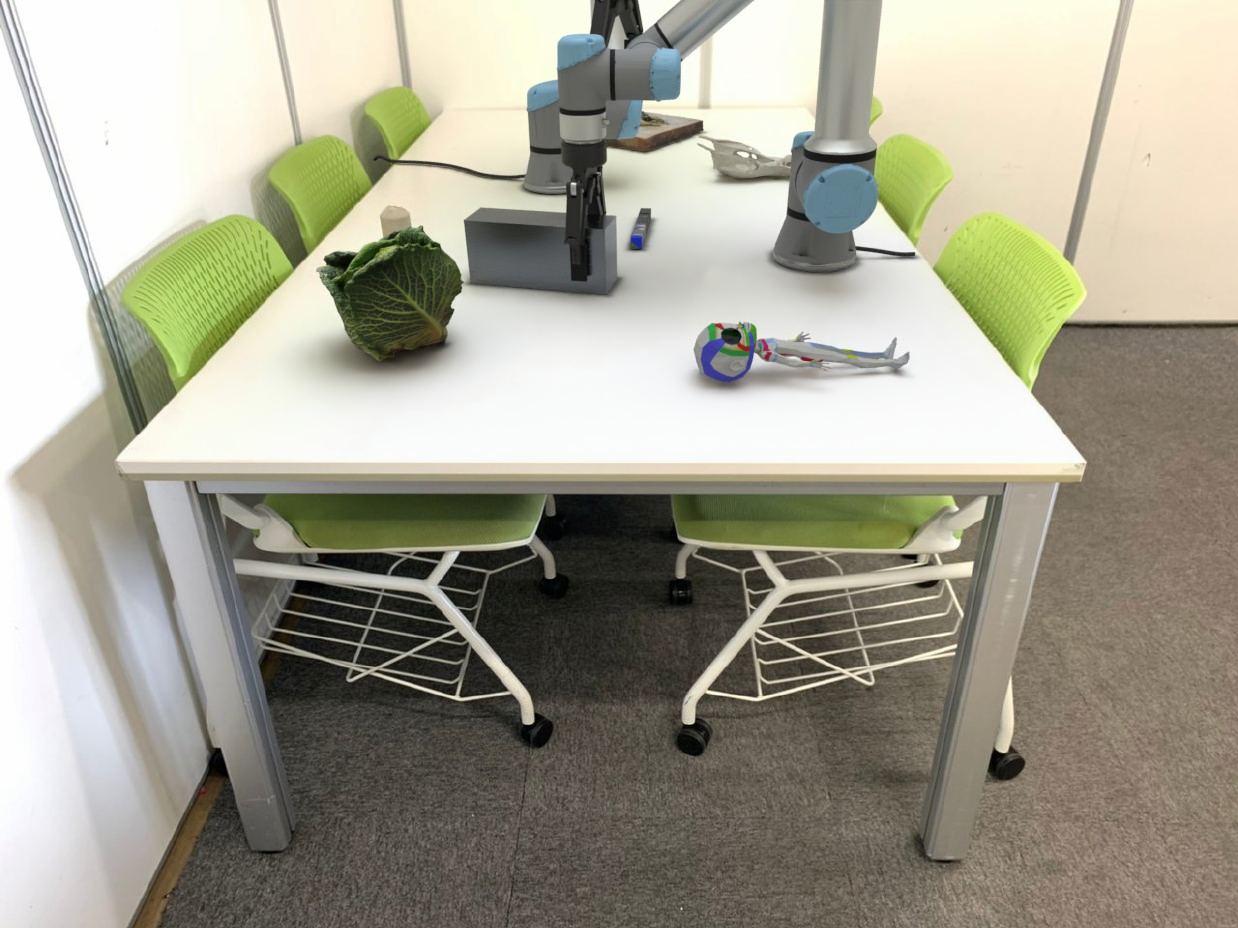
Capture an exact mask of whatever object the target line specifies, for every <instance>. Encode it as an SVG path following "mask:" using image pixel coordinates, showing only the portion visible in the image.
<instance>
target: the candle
mask: <svg viewBox="0 0 1238 928" xmlns="http://www.w3.org/2000/svg"><path fill="white" fill-rule="evenodd" d="M379 220H380V225H381V231H382V238H383V237H385V236H387V235H389V234H391V233H393V232H395V231H400V230H404V229H405V228H407V227H410V226H412V217H411V213H410V212H409V210H407V209H405V208H404V207H403V206H397V205H387V206H385V207H384V209H383V210H382V211H381V213H380V214H379Z"/></svg>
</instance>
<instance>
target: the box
mask: <svg viewBox="0 0 1238 928" xmlns="http://www.w3.org/2000/svg"><path fill="white" fill-rule="evenodd" d="M463 225H464V226H463V227H464V235H465V244H466V254H467V263H468V272H469V273H468V274H469V281H470V284H472V285H483V286H495V287H496V286H497V287H508V288H518V289H519V288H520V289H522V288H523V289H532V290H533V289H534V290H546V291H557V292H558V291H559V292H570V293H579V294H580V293H581V294H594V295H604V296H605V295H607V294H608V293H609V291H610V290H611V288H612V287H613V286H614V285H615V283H616V281H617V280H618V237H617V236H618V233H617V232H618V231H617V229H618V228H617V215H612V214H611V215H610V214H609V215H607V214H606V215H595V214H587V221H586V230H585V239H584V243H586V250H587V279H588V280H587V282H582V281H571V264H570V245H569V244H564V240H565V229H566V212H561V211H560V212H559V211H546V210H545V211H544V210H528V209H525V210H524V209H516V208H515V209H514V208H497V207H483V206H482V207H481V206H480V207H479V208H478V209H476V210H475V211H474V212H472V213H471V214H470V215H468V216H467V217H466V218H465V219H463Z"/></svg>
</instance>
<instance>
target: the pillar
mask: <svg viewBox="0 0 1238 928" xmlns="http://www.w3.org/2000/svg"><path fill="white" fill-rule="evenodd" d="M651 219H652V208H650V207H649V208H648V207H640V209H639V212H638V215H637V217H636V221H635V224H634V227H633V230H632V232H631V235H630V250H637V249H638V250H642V249H643V246H644V244H645V243H644V242H645V240H646V236H647V233H648V229H649V226H650V222H651Z"/></svg>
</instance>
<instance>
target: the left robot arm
mask: <svg viewBox="0 0 1238 928" xmlns="http://www.w3.org/2000/svg"><path fill="white" fill-rule="evenodd" d="M589 2H590V3H589V4H590V30H589V34H597V35H601V36H602V37H603V38H604V42H605V45H606V48H609V49H626V47H627V45H628V44H629V43H630V42H631V41H632V40H633V39H634V38H635V37H637V36H640V35H642V34H643V33H644V26H643V19H642V15H641V8H640V3H639V0H589ZM643 103H644V101H640V100H616V101H611V100H607V101H606V105H605V106H606V116H605V119H606V118H607V119H609V124H608V125H606V136H605V137H604V138H603V139H617V140H620V139H627V138H634V137H635V136H636V135H637V134H638V132H639V128H640V122H641V114H642V111H643V106H644V105H643ZM526 112H527V119H528V120H527V121H528V123H527V124H528V140H529V141H528V142H529V157H528V162H527V168H526V172H525V174H515V175H514V174H513V175H512V174H511V175H507V174H494V173H485V172H480V171H477V170H474V169H472V168H468V167H464V166H460V165H457V164H456V165H455V164H452V163H446V162H438V161H431V160H430V161H429V160H412V159H408V160H407V159H392V158H390V157H387V156H386V155H385V156H384V155H382V154H377V155H376V156H374V157H373V159H372V161H374V162H376V161H377V160H379V159H381V160H384V161H386V162H388V163H393V164H407V165H409V164H413V165H429V166H437V167H438V166H439V167H444V168H451V169H456V170H460V171H462V172H466V173H470V174H473V175H475V176H478V177H479V176H480V177H484V178H492V179H500V180H501V179H503V180H517V179H524V180H523V183H524V188H525V189H526V190H527V191H530V192H531V193H535V194H536V193H537V194H543V195H544V194H545V195H562V194H567V193H566V183H567V182H570V181H571V177H572V176H573V169H572V168H571V167H567V166H565V165H564V164H563V163H562V156H561V142H562V141H563V140H564V139H562V138H561V137H560V116H559V112H560V109H559V92H558V78H557V79H552V80H547V81H543V82H539V83H537V84H534V85H532V86H531V87H530V88H529V89H528V90H527V93H526Z"/></svg>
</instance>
